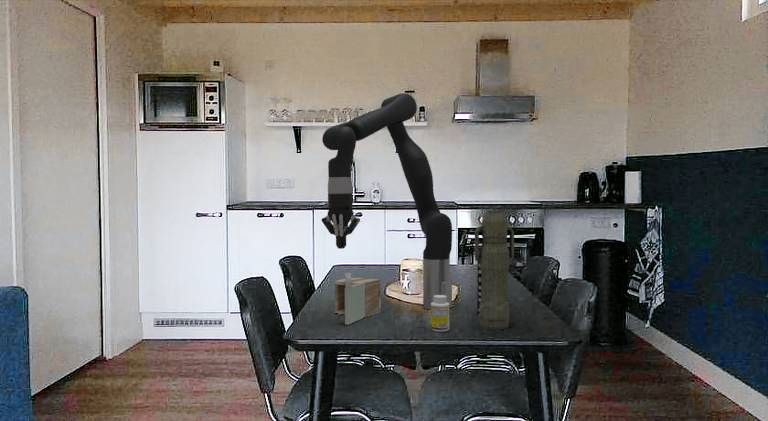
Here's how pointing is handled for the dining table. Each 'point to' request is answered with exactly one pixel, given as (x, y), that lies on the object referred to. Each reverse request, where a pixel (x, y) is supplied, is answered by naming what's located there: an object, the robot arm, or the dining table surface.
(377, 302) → the birch box
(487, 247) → the thermos
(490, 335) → the dining table surface
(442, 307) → the supplement bottle
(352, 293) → the grey-green rectangular panel
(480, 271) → the white-spotted black cylinder
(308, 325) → the dining table surface
